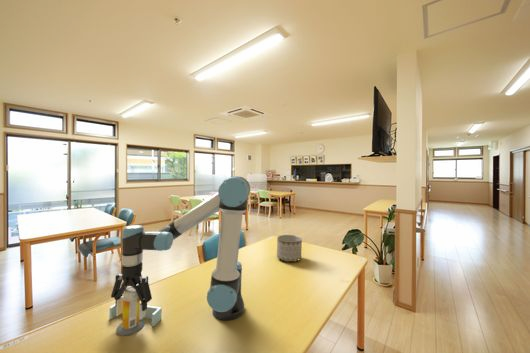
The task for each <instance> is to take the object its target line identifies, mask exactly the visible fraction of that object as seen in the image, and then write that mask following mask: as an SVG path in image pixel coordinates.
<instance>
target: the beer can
mask: <svg viewBox="0 0 530 353" xmlns="http://www.w3.org/2000/svg"><path fill="white" fill-rule="evenodd" d="M122 297H123V314H122V319H121V320H122V321H121V323H122V327H123V328H124V329H126V330H128V329H132V328H134V327H136V326H137V324H138V323H139V304H140V303H141V301H140V299H139V296H138V294H137V292H136V290H135V289H134V288H133V287H131V286H129V287H127V288H126V290H125V291H124V293H123V296H122Z"/></svg>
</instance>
